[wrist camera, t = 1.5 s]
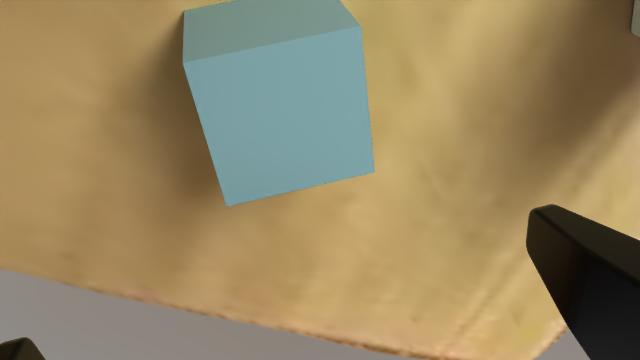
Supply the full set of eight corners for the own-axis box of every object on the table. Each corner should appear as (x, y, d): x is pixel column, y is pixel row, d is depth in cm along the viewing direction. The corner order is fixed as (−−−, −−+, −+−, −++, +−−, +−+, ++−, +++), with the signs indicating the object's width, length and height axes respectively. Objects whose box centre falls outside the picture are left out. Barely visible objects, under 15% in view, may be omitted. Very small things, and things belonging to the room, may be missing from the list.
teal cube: (323, -18, 19) (361, 26, 15) (340, 106, 22) (374, 172, 18) (184, 9, 18) (182, 63, 14) (219, 133, 21) (226, 206, 17)
